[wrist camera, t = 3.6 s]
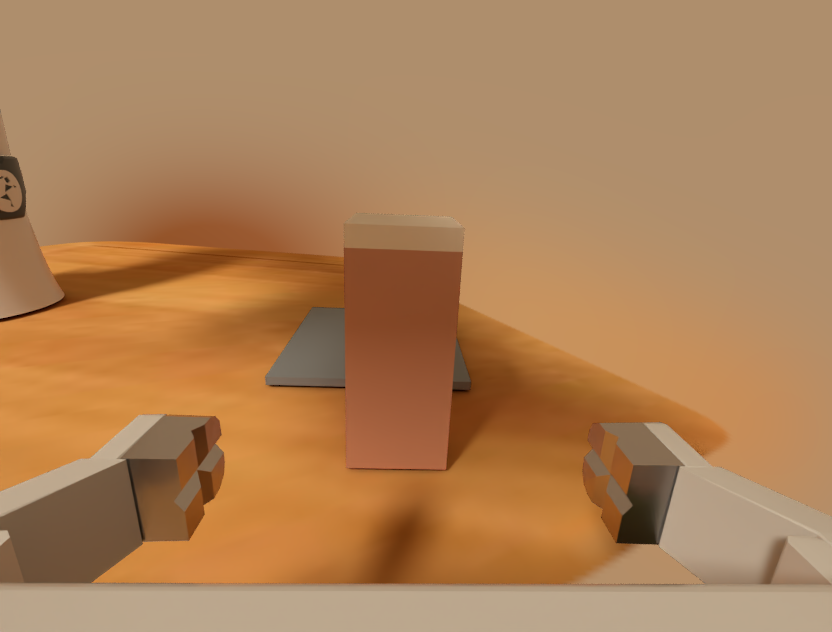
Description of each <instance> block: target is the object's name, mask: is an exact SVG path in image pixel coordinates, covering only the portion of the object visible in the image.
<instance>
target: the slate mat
mask: <svg viewBox="0 0 832 632" xmlns="http://www.w3.org/2000/svg"><path fill="white" fill-rule="evenodd" d="M265 380H266V385H298V386H338V387H345V308H324V307H312V309H311V310H310V312H309V313H308V315H307V316H306V318H305V319H304V321H303V322H302V323H301V325H300V326H299V328H298V329H297V331H296V332H295V334H294V335H293V337H292V338H291V340H290V341H289V343H288V344H287V346H286V347H285V348H284V350H283V351H282V353H281V354H280V356H279V357H278V359H277V360H276V362H275V363H274V365H273V366H272V368H271V369H270V371H269V372H268V373H267V375H266V376H265ZM470 388H471V380H470V377H469V374H468V371H467V368H466V365H465V362H464V359H463V356H462V353H461V350H460V347H459V344H458V341H457V338H456V347H455V360H454V373H453V386H452V389H461V390H470Z"/></svg>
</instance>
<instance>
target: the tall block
mask: <svg viewBox="0 0 832 632" xmlns="http://www.w3.org/2000/svg"><path fill="white" fill-rule="evenodd" d="M463 241H464V227H463V226H462V225H460V224H459V223H458V222H457V221H456V220H455V219H454V218H452V217H443V216H418V215H393V214H368V213H356V214H355V215H353V216H352V217H351V218H350V219H349V220H347V221H346V222H345V223H344V299H345V396H346V468H377V469H437V470H446V464H447V451H448V438H449V425H450V412H451V399H452V386H453V373H454V360H455V347H456V334H457V321H458V308H459V295H460V282H461V269H462V255H463V243H464V242H463Z"/></svg>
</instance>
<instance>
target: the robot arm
mask: <svg viewBox="0 0 832 632" xmlns="http://www.w3.org/2000/svg"><path fill="white" fill-rule="evenodd" d="M0 155H11V153H10V149H9V145H8V141H7V137H6V132H5V128H4V124H3V120H2V116H1V111H0ZM63 297H64V292H63V291H62V289H61V288H60V286H59V285H58V283H57V281H56V280H55V278H54V276H53V274H52V272H51V271H50V268H49V266H48V264H47V262H46V260H45V258H44V256H43V253H42V251H41V249H40V246H39V244H38V241H37V239H36V237H35V234H34V231H33V229H32V226H31V224H30V221H29V218H28V215H27V212H26V190H25V186H24V181H23V177H22V173H21V170H20V167H19V163H18V160H17V158H15V157H10V156H0V319H1V318H6V317H10V316H15V315H19V314H23V313H27V312H30V311H34V310H37V309H40V308H43V307H46V306H49V305H51V304H53V303H56V302H58V301H59V300H61V299H62V298H63ZM221 435H222V434H221V428H220V422H219V420H218V419H217V418H216V417H215V416H194V415H166V414H144V415H139V416H137V417H136V418H135V419H134V420H133V421H132V422H131V423H129V424H128V425H127V426H126V427H125V428H124V429H123V430H122V431H120V432H119V433H118V434H117V435H116V436H115V437H114V438H112V439H111V440H110V441H109V442H108V443H107V444H106V445H104V446H103V447H102V448H101V449H100V450H99V451H98V452H96V453H95V454H94V455H93V456H92V457H91V458H90V459H79V460H77V461H74V462H72V463H69V464H67V465H64V466H62V467H59V468H57V469H55V470H52V471H50V472H47V473H45V474H42V475H40V476H37V477H35V478H32V479H30V480H27V481H25V482H22V483H20V484H18V485H15V486H13V487H10V488H8V489H5V490H3V491H0V632H832V517H831V516H829V515H827V514H825V513H822V512H820V511H818V510H816V509H814V508H811V507H809V506H807V505H804V504H802V503H800V502H798V501H796V500H793V499H791V498H789V497H787V496H784V495H782V494H780V493H778V492H775V491H773V490H771V489H769V488H766V487H764V486H762V485H760V484H758V483H755V482H753V481H751V480H749V479H746V478H744V477H742V476H739V475H737V474H735V473H733V472H731V471H728V470H726V469H724V468H722V467H713V466H711V465H710V464H709V463H708V462H707V461H706V460H705V459H704V458H703V457H702V456H701V455H700V454H698V453H697V452H696V451H695V450H694V449H693V448H692V447H691V446H690V445H689V444H688V443H686V442H685V441H684V440H683V439H682V438H681V437H680V436H679V435H678V434H677V433H676V432H675V431H673V430H672V429H671V428H670V427H669V426H668V425H667V424H664V423H661V422H648V423H593V424H592V426H591V428H590V430H589V435H588V442H589V443H590V445H591V447H592V448H593V449H592V450H591V451H590V452H589V453H588V454H587V455H586V456H585V457H584V463H583V481H584V486H585V489H586V492H587V494H588V496H589V498H590V499H591V501H592V502H593V503H594V504H596V505H597V506H599V507H600V508H602V509H603V510H602V515H601V518H602V520H603V522H604V523H605V525H606V527H607V528H608V530H609V532H610V533H611V535H612V537H613V539H614V540H615V542H616V543H628V544H657V545H659V547H660V548H661V549H662V550H664V551H665V552H666V553H667V554H669V555H670V556H671V557H672V558H674V559H675V560H676V561H677V562H679V563H680V564H681V565H683V566H684V567H685V568H686V569H688V570H689V571H690V572H692V573H693V574H694V575H695V576H696V577H698V578H699V579H700V580H702V581H703V582H704V583H705V584H350V583H91V582H93V581H94V580H95V579H97V578H98V577H99V576H101V575H102V574H103V573H105V572H106V571H107V570H109V569H110V568H111V567H113V566H114V565H115V564H117V563H118V562H119V561H121V560H122V559H123V558H125V557H126V556H127V555H129V554H130V553H131V552H133V551H134V550H135V549H137V548H138V547H139V546H141V545H142V544H143V542H147V541H189V540H190V538H191V536H192V535H193V533H194V531H195V530H196V528H197V526H198V525H199V523H200V521H201V520H202V518H203V516H204V515H205V513H204V504H206V503H207V502H209V501H211V500H212V499H214V498H215V496H216V494H217V492H218V491H219V489H220V486H221V483H222V479H223V476H224V465H225V461H224V452H223V451H222V450H221V449H220V448H219V447H218V446H217V445H216V444H215V443H216V442H217V440H218V439H219V437H220V436H221Z"/></svg>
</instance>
